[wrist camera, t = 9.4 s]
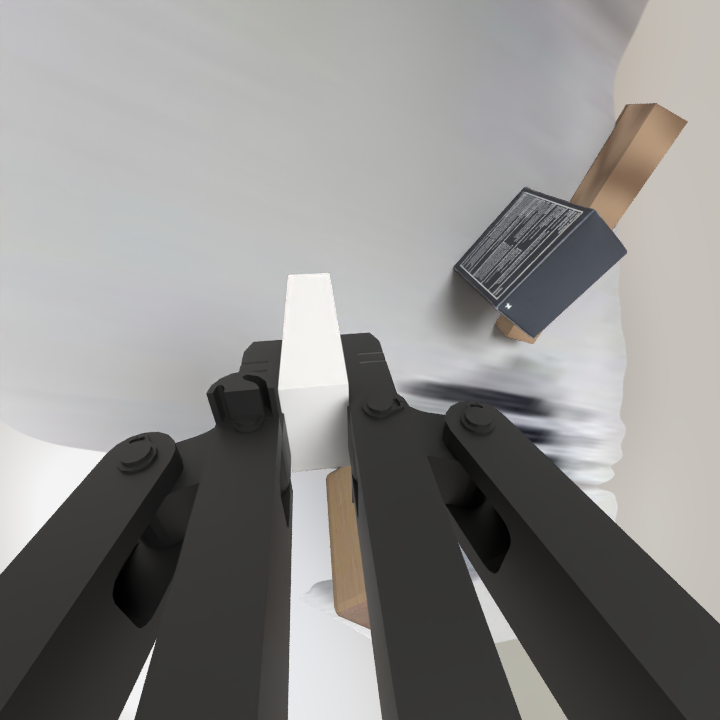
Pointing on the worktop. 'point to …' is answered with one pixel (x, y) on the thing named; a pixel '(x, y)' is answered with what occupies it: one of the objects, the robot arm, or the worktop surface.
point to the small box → (539, 258)
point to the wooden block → (345, 549)
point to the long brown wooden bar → (620, 171)
